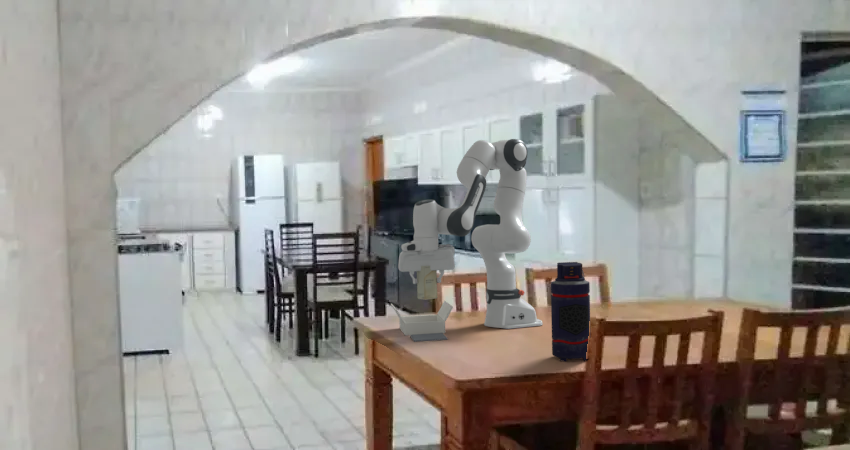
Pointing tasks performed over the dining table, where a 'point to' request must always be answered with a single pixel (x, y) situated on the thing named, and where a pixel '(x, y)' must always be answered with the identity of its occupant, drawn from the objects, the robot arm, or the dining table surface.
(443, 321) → the carton
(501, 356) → the dining table surface
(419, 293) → the skincare box
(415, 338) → the mat
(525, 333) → the dining table surface
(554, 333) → the dark blue bottle
